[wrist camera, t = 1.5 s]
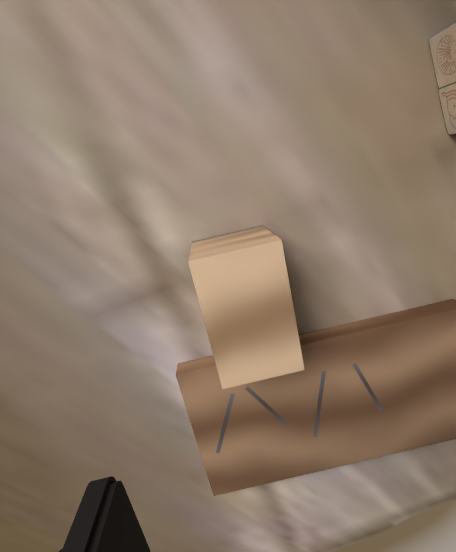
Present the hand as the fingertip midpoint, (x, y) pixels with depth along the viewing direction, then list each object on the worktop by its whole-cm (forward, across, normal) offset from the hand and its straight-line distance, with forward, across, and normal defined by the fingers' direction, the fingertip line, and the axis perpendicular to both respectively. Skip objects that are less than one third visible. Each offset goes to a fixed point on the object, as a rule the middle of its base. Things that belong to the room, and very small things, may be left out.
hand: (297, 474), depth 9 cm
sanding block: (+16, 0, 0) cm, 16 cm away
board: (+16, -5, +11) cm, 20 cm away
